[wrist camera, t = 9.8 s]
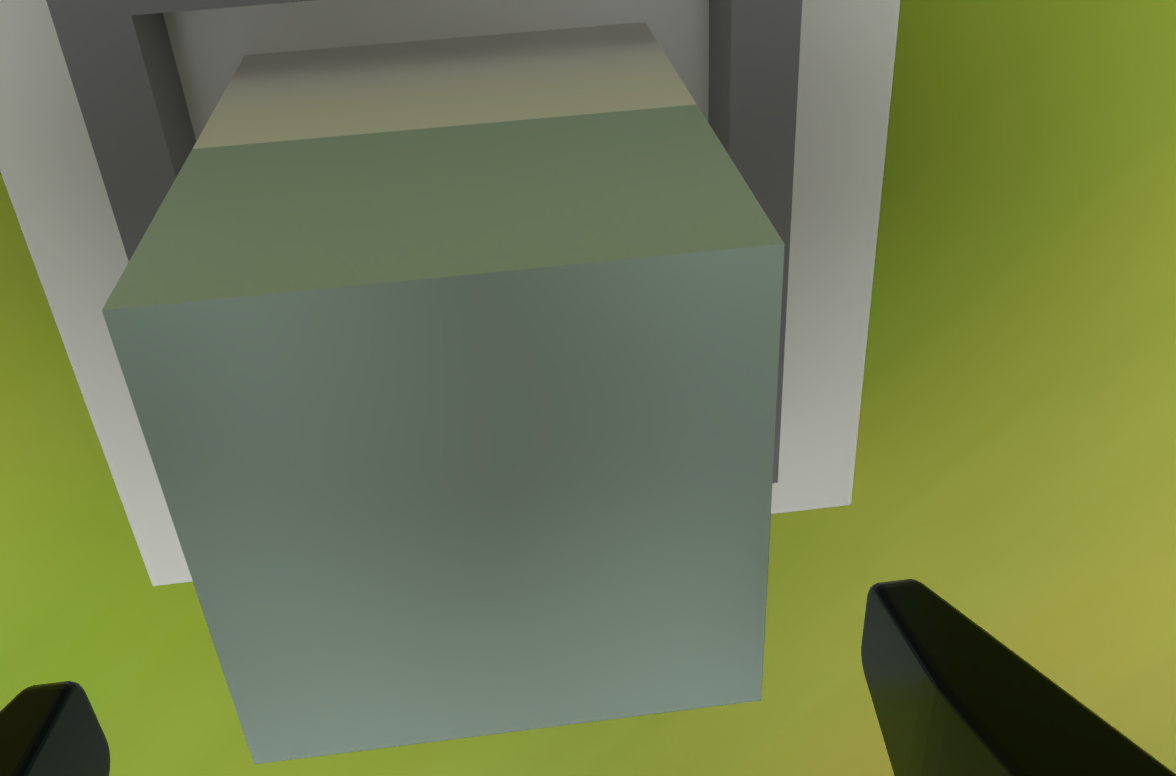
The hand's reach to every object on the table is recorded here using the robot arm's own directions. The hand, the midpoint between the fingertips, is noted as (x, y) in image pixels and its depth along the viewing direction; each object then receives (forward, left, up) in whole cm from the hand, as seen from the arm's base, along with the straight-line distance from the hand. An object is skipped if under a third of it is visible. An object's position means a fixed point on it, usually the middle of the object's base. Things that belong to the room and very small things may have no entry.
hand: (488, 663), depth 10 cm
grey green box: (0, 0, -10) cm, 10 cm away
